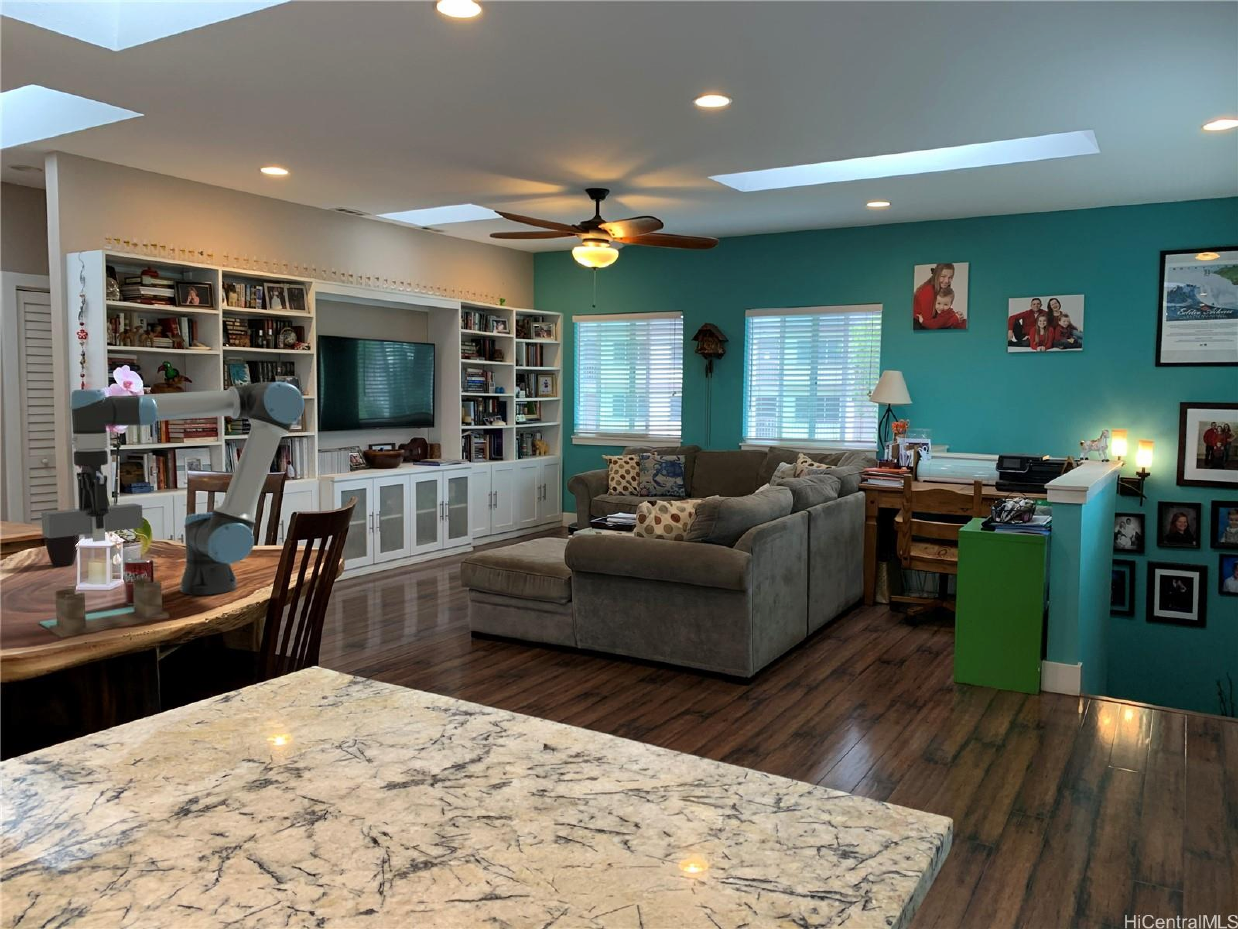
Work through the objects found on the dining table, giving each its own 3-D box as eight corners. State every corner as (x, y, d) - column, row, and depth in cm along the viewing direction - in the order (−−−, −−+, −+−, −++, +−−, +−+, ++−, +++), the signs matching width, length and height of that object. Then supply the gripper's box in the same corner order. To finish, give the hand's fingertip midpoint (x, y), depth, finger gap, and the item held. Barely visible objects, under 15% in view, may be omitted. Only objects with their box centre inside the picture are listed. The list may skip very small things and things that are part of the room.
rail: (134, 525, 242) (134, 503, 241) (142, 527, 239) (141, 505, 238) (42, 535, 225) (41, 512, 225) (49, 538, 222) (48, 514, 221)
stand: (155, 612, 240) (154, 576, 239) (169, 617, 235) (167, 581, 234) (49, 630, 221) (47, 591, 220) (61, 637, 216) (59, 597, 215)
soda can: (142, 606, 246) (140, 563, 245) (119, 605, 247) (117, 562, 246) (160, 600, 253) (159, 558, 252) (138, 598, 254) (136, 557, 253)
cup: (44, 569, 292) (42, 532, 291) (48, 561, 304) (46, 526, 303) (79, 566, 297) (78, 530, 296) (82, 559, 309) (80, 524, 308)
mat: (139, 606, 246) (139, 605, 246) (149, 611, 241) (149, 609, 241) (39, 623, 228) (39, 622, 228) (48, 628, 223) (48, 627, 223)
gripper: (61, 448, 233) (65, 537, 235) (88, 452, 221) (92, 545, 224) (92, 447, 239) (96, 533, 241) (120, 451, 227) (124, 542, 229)
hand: (94, 539), depth 232 cm, fingers closed on rail, 5 cm apart
